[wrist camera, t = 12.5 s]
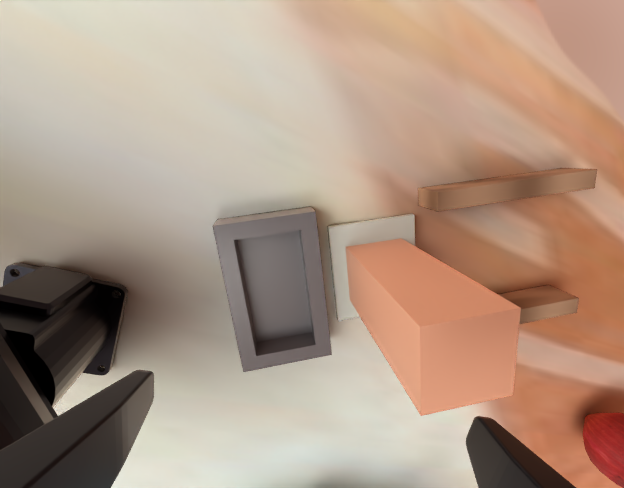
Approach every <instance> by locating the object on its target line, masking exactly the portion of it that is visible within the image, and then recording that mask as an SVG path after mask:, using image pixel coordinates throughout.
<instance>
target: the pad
mask: <svg viewBox="0 0 624 488" xmlns="http://www.w3.org/2000/svg"><path fill="white" fill-rule="evenodd" d="M328 236H329V245H330V255H331V264H332V274H333V284H334V293H335V303H336V313H337V319H338V321H341V320H347V319H352V318H358V317H360V316H359V314H358V313H357V311H356V309H355V308H354V306H353V304H352V303H351V301H350V297H349V284H348V272H347V260H346V248H345V247H347V246H354V245H360V244H367V243H374V242H380V241H387V240H393V239H400V238H402V239H404V240H405V241H407V242H409V243H410V244H412V245H414V246H415V216H414V214H407V215H400V216H393V217H387V218H380V219H373V220H366V221H360V222H353V223H346V224H340V225H333V226H328Z"/></svg>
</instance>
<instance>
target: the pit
mask: <svg viewBox="0 0 624 488" xmlns="http://www.w3.org/2000/svg"><path fill="white" fill-rule="evenodd" d="M213 230H214V234H215V239H216V244H217V249H218V253H219V258H220V263H221V268H222V272H223V277H224V282H225V287H226V291H227V296H228V301H229V305H230V310H231V315H232V320H233V324H234V329H235V334H236V339H237V343H238V348H239V353H240V358H241V362H242V367H243V372H246V371H251V370H256V369H262V368H267V367H272V366H277V365H282V364H287V363H292V362H297V361H302V360H307V359H312V358H317V357H322V356H327V355H332V353H331V344H330V335H329V326H328V318H327V309H326V300H325V291H324V282H323V274H322V265H321V256H320V247H319V238H318V229H317V221H316V212H315V210H314V209H313V208H312V207H311V206H309V207H302V208H295V209H288V210H281V211H274V212H266V213H259V214H252V215H245V216H238V217H231V218H224V219H217V221H216V222H215V224H214V225H213Z"/></svg>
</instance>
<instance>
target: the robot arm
mask: <svg viewBox="0 0 624 488" xmlns="http://www.w3.org/2000/svg"><path fill="white" fill-rule="evenodd" d="M15 269H17V270H18V271H19V273H20V274H17V273H16V272H15ZM115 291H119V292H120V293H121V295H116V294H115ZM126 298H127V289H126V288H125V287H124V286H123V285H120V284H115V283H110V282H106V281H101V280H97V279H92V278H91V277H90V276H89V275H86V274H81V273H77V272H72V271H68V270H63V269H58V268H54V267H49V266H42V267H37V266H33V265H28V264H24V263H14V264H12V265H9V266H8V267H6V269H5V273H4V281H3V286H2V287H0V488H111V486H112V484H113V483H114V481H115V479H116V477H117V476H118V474H119V472H120V470H121V468H122V467H123V465H124V463H125V461H126V459H127V457H128V454H129V452H130V450H131V448H132V446H133V444H134V442H135V439H136V437H137V435H138V433H139V431H140V429H141V426H142V424H143V422H144V420H145V418H146V416H147V413H148V411H149V409H150V407H151V405H152V402H153V398H154V374H153V372H151V371H145V370H136V371H134V372H132V373H131V374H129V375H127V376H126V377H124V378H122V379H121V380H119V381H117V382H115V383H114V384H112V385H110V386H109V387H107V388H105V389H104V390H102V391H100V392H98V393H97V394H95V395H93V396H92V397H90V398H88V399H87V400H85V401H83V402H82V403H80V404H78V405H76V406H75V407H73V408H71V409H70V410H68V411H66V412H65V413H63V414H61V415H59V416H57V414H56V412H55V411H54V409H53V407H54V406H55V405H56V403H57V402H58V401H59V400H60V399H61V397H62V396H63V395H64V394H65V393H66V391H67V390H68V389H69V388H70V387H71V385H72V384H73V383H74V382H75V381H76V379H77V378H78V377H79V376H80V375H81V373H89V374H95V375H105V374H107V373H108V372H109V371H110V369H111V368H112V364H113V360H114V355H115V350H116V345H117V341H118V336H119V331H120V326H121V322H122V317H123V312H124V307H125V303H126ZM100 366H104V367H105V368H101V367H100ZM466 446H467V450H468V453H469V457H470V460H471V464H472V467H473V471H474V474H475V477H476V481H477V484H478V488H576V487H575V486H573V485H572V484H571V483H570V482H569V481H567V480H566V479H565V478H564V477H562V476H561V475H560V474H559V473H558V472H556V471H555V470H554V469H553V468H552V467H550V466H549V465H548V464H547V463H545V462H544V461H543V460H542V459H541V458H539V457H538V456H537V455H536V454H535V453H533V452H532V451H531V450H530V449H529V448H527V447H526V446H525V445H524V444H522V443H521V442H520V441H519V440H518V439H516V438H515V437H514V436H513V435H512V434H510V433H509V432H508V431H507V430H505V429H504V428H503V427H502V426H501V425H499V424H498V423H497V422H496V421H495V420H493V419H491V418H488V417H481V416H477V417H476V418H474V420H473V423H472V425H471V428H470V430H469V432H468V435H467V438H466Z"/></svg>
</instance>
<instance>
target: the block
mask: <svg viewBox="0 0 624 488" xmlns="http://www.w3.org/2000/svg"><path fill="white" fill-rule="evenodd" d="M345 248H346V260H347V272H348V284H349V297H350V301H351V303H352V304H353V306H354V308H355V309H356V311H357V313H358V314H359V316H360V317H361V319H362V321H363V322H364V324H365V326H366V327H367V329H368V330H369V332H370V334H371V335H372V337H373V339H374V340H375V342H376V343H377V345H378V347H379V348H380V350H381V352H382V353H383V355H384V356H385V358H386V360H387V361H388V363H389V365H390V366H391V368H392V369H393V371H394V373H395V374H396V376H397V378H398V379H399V381H400V382H401V384H402V386H403V387H404V389H405V391H406V392H407V394H408V395H409V397H410V399H411V400H412V402H413V404H414V405H415V407H416V409H417V410H418V412H419V413H420V415H421V416H422V415H427V414H431V413H436V412H440V411H445V410H449V409H454V408H458V407H463V406H467V405H472V404H476V403H481V402H485V401H490V400H494V399H499V398H503V397H508V396H512V395H513V389H514V378H515V367H516V356H517V345H518V334H519V323H520V311H521V308H520V307H518V306H517V305H515V304H513V303H512V302H510V301H508V300H506V299H505V298H503V297H501V296H500V295H498V294H496V293H494V292H493V291H491V290H489V289H488V288H486V287H484V286H482V285H481V284H479V283H477V282H476V281H474V280H472V279H470V278H469V277H467V276H465V275H464V274H462V273H460V272H458V271H457V270H455V269H453V268H452V267H450V266H448V265H446V264H445V263H443V262H441V261H440V260H438V259H436V258H434V257H433V256H431V255H429V254H428V253H426V252H424V251H422V250H421V249H419V248H417V247H416V246H414V245H412V244H410V243H409V242H407V241H405V240H404V239H402V238H400V239H393V240H387V241H380V242H374V243H367V244H360V245H354V246H347V247H345Z"/></svg>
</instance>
